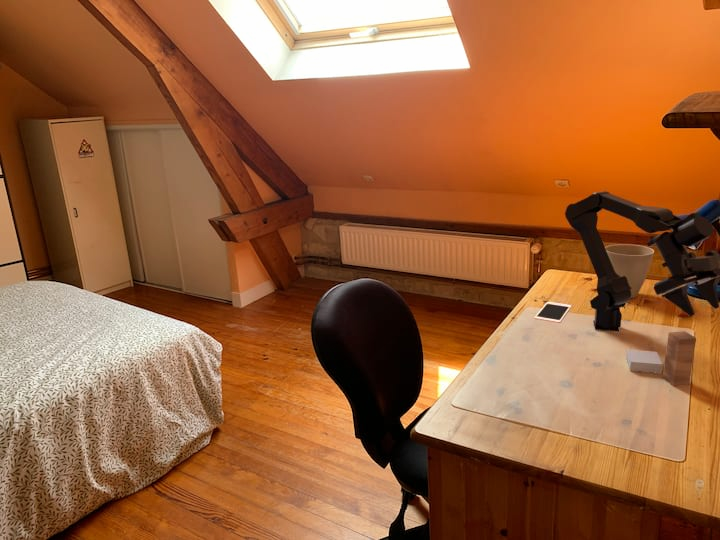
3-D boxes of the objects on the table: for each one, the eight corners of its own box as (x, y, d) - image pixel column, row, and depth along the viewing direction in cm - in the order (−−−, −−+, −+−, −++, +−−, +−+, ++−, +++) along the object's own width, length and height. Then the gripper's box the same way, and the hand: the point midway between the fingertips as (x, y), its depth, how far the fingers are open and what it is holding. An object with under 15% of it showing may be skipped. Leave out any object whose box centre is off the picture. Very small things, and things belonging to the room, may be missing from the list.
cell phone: (571, 306, 181) (572, 305, 180) (559, 324, 168) (559, 322, 168) (547, 303, 185) (547, 301, 184) (533, 319, 172) (534, 317, 172)
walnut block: (662, 378, 133) (668, 332, 130) (678, 376, 133) (685, 331, 130) (672, 386, 129) (679, 339, 126) (689, 385, 130) (696, 338, 126)
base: (629, 370, 137) (630, 361, 137) (625, 358, 144) (626, 349, 143) (661, 373, 135) (662, 364, 135) (655, 360, 142) (656, 351, 141)
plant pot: (654, 292, 188) (659, 247, 184) (641, 305, 178) (646, 258, 173) (608, 284, 198) (612, 241, 193) (594, 296, 187) (597, 251, 183)
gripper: (676, 246, 129) (709, 308, 124) (726, 235, 136) (759, 293, 132) (640, 265, 138) (669, 323, 134) (689, 253, 146) (718, 308, 141)
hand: (705, 311), depth 135 cm, fingers open, 9 cm apart
